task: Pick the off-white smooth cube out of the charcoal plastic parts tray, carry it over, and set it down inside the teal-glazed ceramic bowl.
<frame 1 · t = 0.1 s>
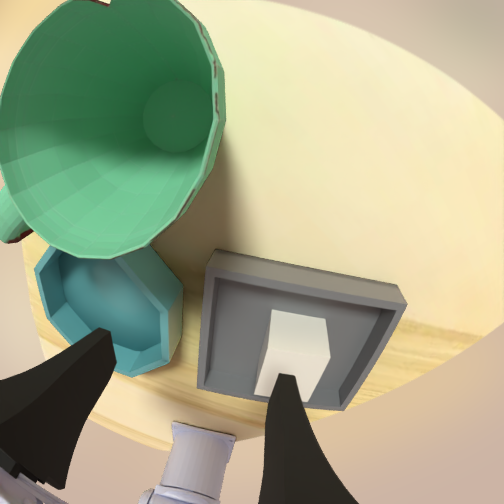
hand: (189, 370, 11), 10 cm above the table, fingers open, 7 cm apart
bowl: (114, 293, 22), on the table
off-white smooth cube: (290, 339, 22), resting on parts tray
parts tray: (290, 335, 22), on the table
mug: (150, 136, 17), on the table
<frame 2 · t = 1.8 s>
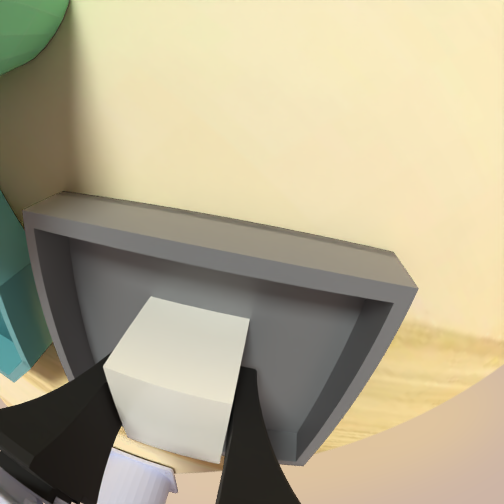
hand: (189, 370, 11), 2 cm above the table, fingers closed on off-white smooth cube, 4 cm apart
off-white smooth cube: (195, 352, 12), resting on parts tray, touching gripper
parts tray: (198, 344, 12), on the table
mug: (9, 55, 7), on the table
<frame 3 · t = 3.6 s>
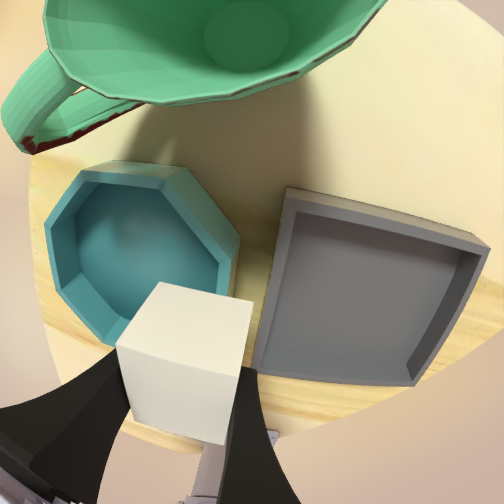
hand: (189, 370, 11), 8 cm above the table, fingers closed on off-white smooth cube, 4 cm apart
bowl: (145, 255, 19), on the table
off-white smooth cube: (201, 336, 13), point 6 cm above the table, touching gripper
parts tray: (364, 296, 18), on the table
mug: (209, 56, 13), on the table
when the fingers open (4 cm above the table, at t = 5.3 s): off-white smooth cube stays where it is, resting on bowl.
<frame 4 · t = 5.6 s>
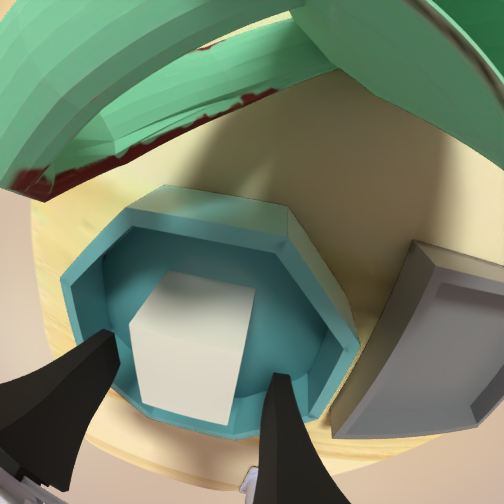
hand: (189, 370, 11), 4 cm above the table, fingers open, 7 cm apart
bowl: (209, 316, 14), on the table
off-white smooth cube: (206, 322, 14), point 1 cm above the table, touching bowl
parts tray: (455, 351, 14), on the table
mug: (327, 48, 9), on the table
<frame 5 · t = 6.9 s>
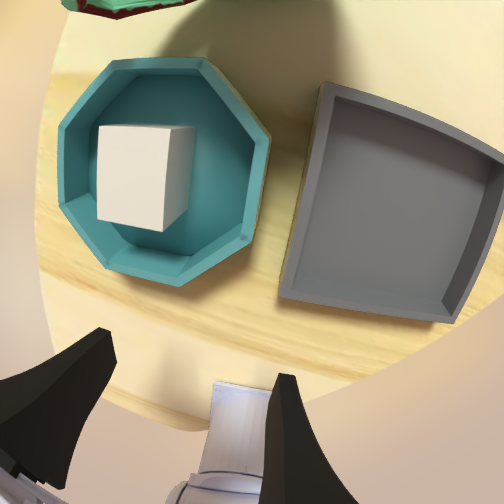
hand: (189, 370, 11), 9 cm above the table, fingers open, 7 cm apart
bowl: (164, 165, 17), on the table
off-white smooth cube: (161, 164, 16), point 1 cm above the table, touching bowl
parts tray: (399, 211, 16), on the table
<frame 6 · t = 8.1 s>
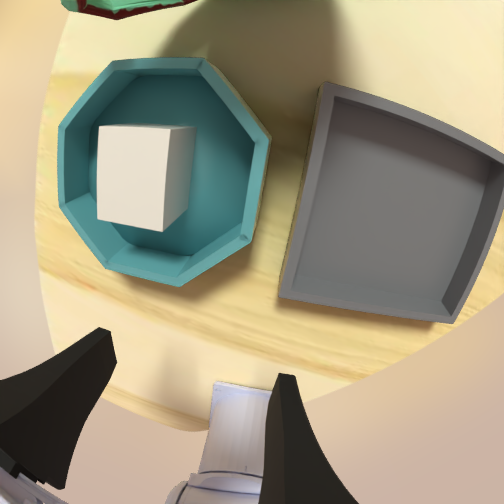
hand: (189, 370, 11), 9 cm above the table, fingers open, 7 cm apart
bowl: (164, 165, 17), on the table
off-white smooth cube: (161, 164, 16), point 1 cm above the table, touching bowl
parts tray: (399, 211, 16), on the table
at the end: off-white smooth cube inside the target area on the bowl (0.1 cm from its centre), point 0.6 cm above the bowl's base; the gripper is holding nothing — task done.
